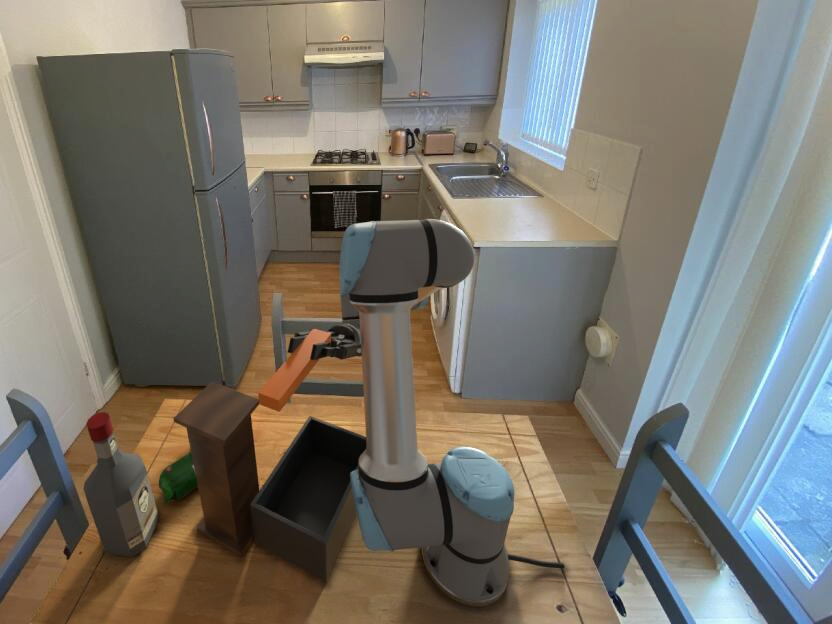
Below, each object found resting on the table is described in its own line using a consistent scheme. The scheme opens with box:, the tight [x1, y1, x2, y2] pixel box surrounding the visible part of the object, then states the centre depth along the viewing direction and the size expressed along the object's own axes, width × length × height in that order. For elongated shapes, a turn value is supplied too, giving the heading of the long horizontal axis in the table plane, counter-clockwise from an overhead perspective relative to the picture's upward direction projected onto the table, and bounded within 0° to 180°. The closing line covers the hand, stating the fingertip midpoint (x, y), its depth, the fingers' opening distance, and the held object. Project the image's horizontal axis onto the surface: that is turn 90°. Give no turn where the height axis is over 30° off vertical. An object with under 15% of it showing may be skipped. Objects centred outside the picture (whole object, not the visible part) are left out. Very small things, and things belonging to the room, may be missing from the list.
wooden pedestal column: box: [173, 381, 260, 558], centre depth 80 cm, size 11×10×30 cm
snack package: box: [158, 451, 198, 504], centre depth 94 cm, size 7×16×5 cm, turn 131°
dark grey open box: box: [250, 415, 367, 583], centre depth 86 cm, size 16×24×11 cm, turn 153°
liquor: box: [83, 411, 160, 558], centre depth 78 cm, size 9×9×30 cm
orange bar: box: [257, 328, 331, 413], centre depth 77 cm, size 4×20×2 cm, turn 154°
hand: (302, 348), depth 77 cm, fingers closed on orange bar, 4 cm apart
